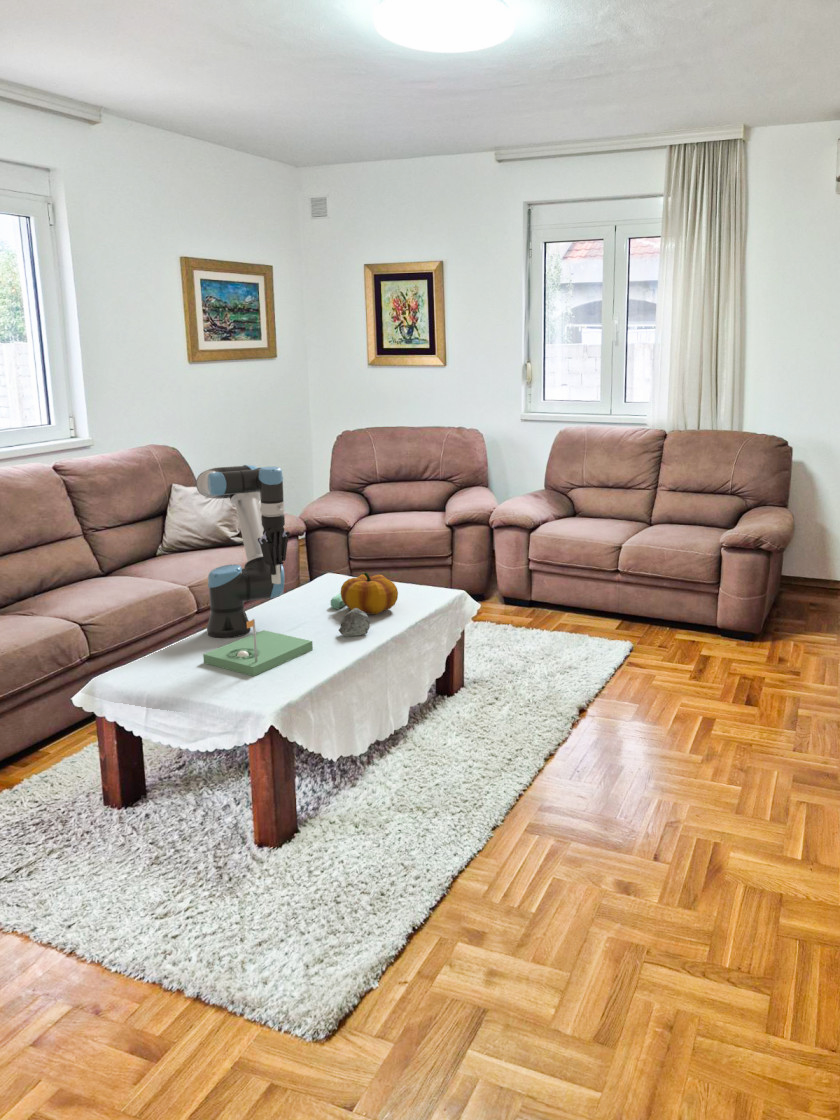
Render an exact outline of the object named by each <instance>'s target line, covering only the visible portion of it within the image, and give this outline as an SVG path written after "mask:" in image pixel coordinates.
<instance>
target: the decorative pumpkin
mask: <svg viewBox="0 0 840 1120" xmlns="http://www.w3.org/2000/svg"><path fill="white" fill-rule="evenodd" d="M340 593H341V598H342V600H343V602H344V603H345V605H344V606H346V607H347V608H349V610H350V611H351V610H353V609H354V608H358V609H360V610H361V611H363V612H365V613H366V614H370V615H378V614H380V613H382V612H384V611H387V610H390V609H391V608H393V607H394V606H395V604H396V602H397V601H398V597H399V592H398V588H397V586H396V584H395V583H394V582H393V581H392V580H390V579H388V578H386V577H385V576H384V575H382V574H375V575H372V576H371V575H369V574H368V573H367V572H366V571H365V572H364V573H363V574H360V575H359V576H357V577H352V578H348V579H347V580H346V581H344V582H343V584H342V585H341V587H340V592H339V594H340Z"/></svg>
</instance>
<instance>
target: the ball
mask: <svg viewBox="0 0 840 1120" xmlns="http://www.w3.org/2000/svg"><path fill="white" fill-rule="evenodd" d="M246 656H249V654H248V652H246V651H240V652H238V654H237V657H246Z"/></svg>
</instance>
